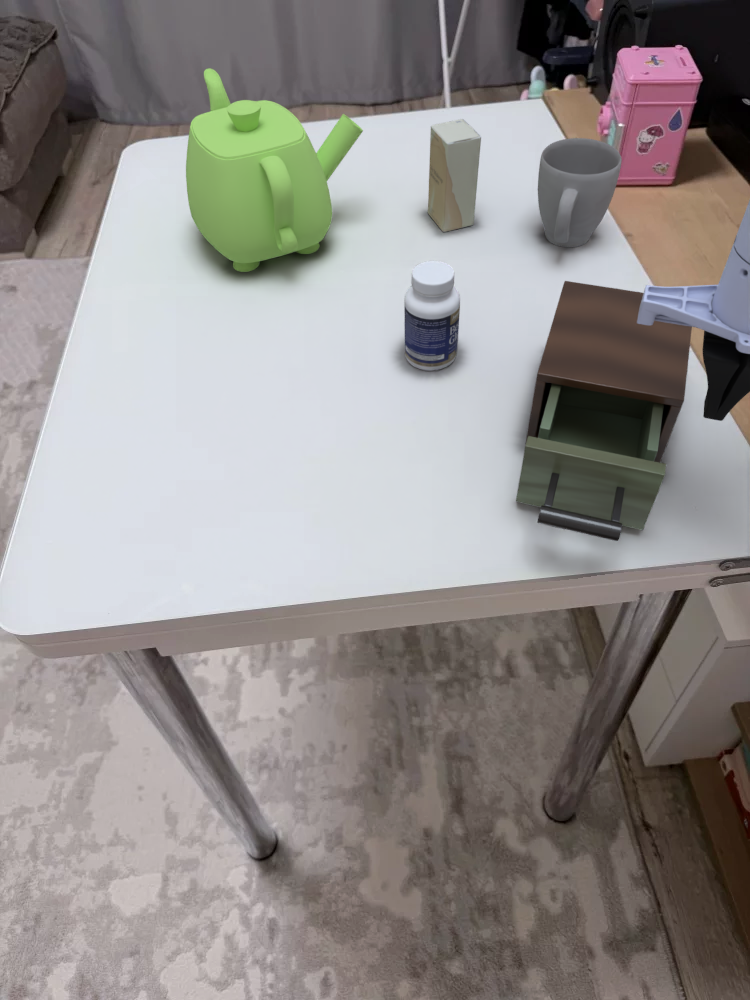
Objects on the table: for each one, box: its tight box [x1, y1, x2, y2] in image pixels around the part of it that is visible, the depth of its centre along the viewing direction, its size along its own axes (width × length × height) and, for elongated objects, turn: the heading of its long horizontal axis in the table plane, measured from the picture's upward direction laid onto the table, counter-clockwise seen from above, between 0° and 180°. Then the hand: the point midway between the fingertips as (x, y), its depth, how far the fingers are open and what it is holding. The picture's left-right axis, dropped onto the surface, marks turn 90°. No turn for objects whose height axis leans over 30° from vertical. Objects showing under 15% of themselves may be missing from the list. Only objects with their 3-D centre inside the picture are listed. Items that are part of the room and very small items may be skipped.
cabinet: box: [524, 280, 693, 463], centre depth 67 cm, size 14×12×9 cm
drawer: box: [515, 383, 667, 542], centre depth 61 cm, size 17×10×7 cm, turn 161°
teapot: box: [185, 67, 364, 273], centre depth 87 cm, size 25×22×16 cm
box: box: [427, 118, 482, 233], centre depth 88 cm, size 5×4×11 cm
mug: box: [537, 137, 623, 248], centre depth 85 cm, size 12×9×10 cm
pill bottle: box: [403, 260, 461, 371], centre depth 72 cm, size 5×5×10 cm
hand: (713, 410), depth 56 cm, fingers closed
